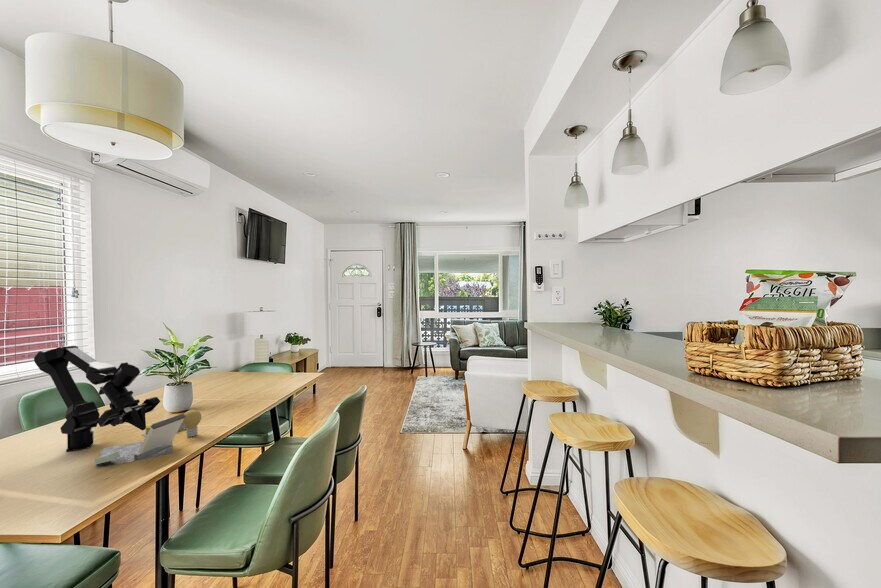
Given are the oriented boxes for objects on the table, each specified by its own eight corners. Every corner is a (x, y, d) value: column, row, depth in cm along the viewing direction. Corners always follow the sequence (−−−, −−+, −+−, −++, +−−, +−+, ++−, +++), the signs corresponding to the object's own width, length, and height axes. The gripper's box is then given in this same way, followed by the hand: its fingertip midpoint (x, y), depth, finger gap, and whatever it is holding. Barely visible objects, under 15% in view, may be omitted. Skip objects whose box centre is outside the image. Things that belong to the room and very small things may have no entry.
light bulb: (203, 432, 160) (202, 407, 160) (199, 437, 154) (199, 411, 154) (184, 434, 158) (184, 408, 158) (180, 439, 152) (180, 413, 152)
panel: (95, 471, 125) (95, 463, 125) (102, 451, 141) (102, 444, 141) (173, 456, 137) (173, 448, 137) (171, 438, 153) (171, 432, 153)
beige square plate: (138, 451, 132) (152, 424, 131) (169, 438, 144) (182, 413, 143) (141, 454, 132) (155, 426, 131) (172, 440, 144) (185, 415, 142)
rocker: (95, 464, 128) (94, 458, 128) (108, 459, 132) (107, 453, 132) (107, 461, 127) (106, 456, 127) (120, 456, 131) (118, 451, 131)
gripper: (131, 403, 152) (155, 434, 149) (77, 418, 133) (103, 454, 131) (148, 383, 150) (172, 415, 148) (96, 396, 132) (122, 432, 129)
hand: (144, 429), depth 139 cm, fingers closed
